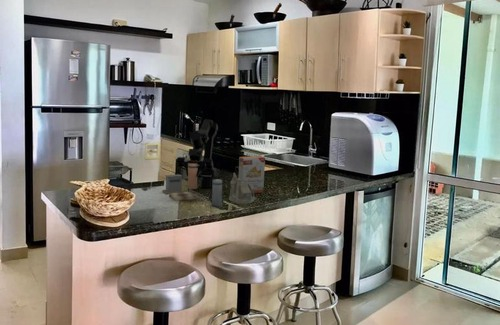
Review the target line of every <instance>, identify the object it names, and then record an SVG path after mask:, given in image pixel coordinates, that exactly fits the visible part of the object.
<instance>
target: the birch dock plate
mask: <svg viewBox="0 0 500 325" xmlns="http://www.w3.org/2000/svg"><path fill="white" fill-rule="evenodd" d="M168 197H169V198H171V199H173V201H175V202H177V201H188V200H197V199H198V196H197V195H196V194H195V193H193V192H191V191H185V192H180V193H169V194H168Z"/></svg>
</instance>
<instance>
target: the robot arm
mask: <svg viewBox="0 0 500 325" xmlns="http://www.w3.org/2000/svg"><path fill="white" fill-rule="evenodd" d="M218 131H219V125H218V123H217V122H215V121H213V120H212V119H203V121H202V125H201V127H200V129H198V130H194V131H193V132H191V134H189V138H190V141H191V145H192V146H193V147H192V148H188V153H187V154H188V158H189V159H187V158H186V157H184V156H183V157H182V156H178V157H177V158H176V163H177V166H178V167H179V168H183V169H185V173H186V174H185V175H186V177H188V163H197V165H198V167H197V175H196V177H197V178H200V179H199V187H200V188H202V189H204V190H205V189H212V188H213V179H214V178H216V174H215V169H214V162H213V159H212V154H213V146H214V138H215V137H216V136H217V132H218ZM202 159H203V160H202Z"/></svg>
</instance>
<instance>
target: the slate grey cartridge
mask: <svg viewBox="0 0 500 325" xmlns="http://www.w3.org/2000/svg"><path fill="white" fill-rule="evenodd" d="M212 187H213V188H211V189H212V196H211V200H212V201H211V206H212V207H221V206H223V205H222V201H223V200H222V199H223V179H220V178H219V179H217V178H216V179H214V178H213V179H212Z"/></svg>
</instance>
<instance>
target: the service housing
mask: <svg viewBox="0 0 500 325" xmlns="http://www.w3.org/2000/svg"><path fill="white" fill-rule="evenodd" d="M182 180H183V175H181V174H165V189H162V193H164V194H165V195H169V193H180V192H186V191H185V190H184V189H183V181H182Z"/></svg>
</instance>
